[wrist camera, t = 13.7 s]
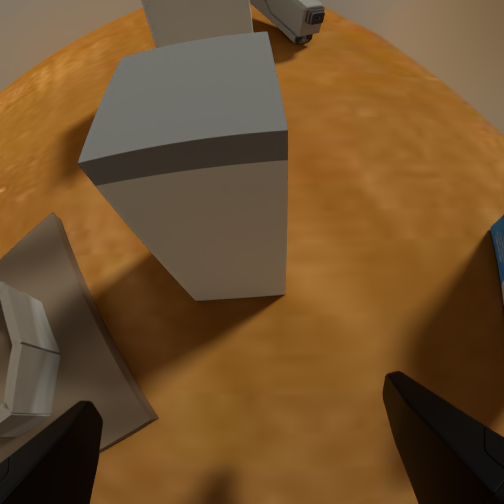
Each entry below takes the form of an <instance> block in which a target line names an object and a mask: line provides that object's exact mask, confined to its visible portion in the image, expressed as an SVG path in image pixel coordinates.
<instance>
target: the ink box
mask: <svg viewBox="0 0 504 504" xmlns="http://www.w3.org/2000/svg"><path fill="white" fill-rule="evenodd" d="M491 234H492V239H493V243H494V247H495V252H496V258H497V263H498V269H499V275H500V281H501V287H502V295H503V303H504V215H503V216H502V217H501V218H500V219H499V220H498V221H497V222H496V223H494V224H493V225H492V226H491Z"/></svg>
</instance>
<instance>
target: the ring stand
mask: <svg viewBox="0 0 504 504" xmlns="http://www.w3.org/2000/svg"><path fill="white" fill-rule="evenodd" d="M81 400H85V401H91V402H92V403H93V404H94V405H95V407H96V409H97V410H98V412H99V413H100V415H101V417H102V419H103V428H102V436H101V444H100V452H102V451H104V450H106V449H107V448H109V447H111V446H113V445H114V444H116V443H118V442H120V441H121V440H123V439H125V438H127V437H128V436H130V435H132V434H133V433H135V432H137V431H138V430H140V429H142V428H143V427H145V426H147V425H148V424H150V423H152V422H153V421H155V420H156V419H158V416H157V415H156V413H155V412H154V410H153V409H152V407H151V405H150V404H149V402H148V401H147V399H146V398H145V396H144V394H143V393H142V391H141V389H140V388H139V386H138V384H137V383H136V381H135V379H134V378H133V376H132V374H131V373H130V371H129V369H128V367H127V366H126V364H125V362H124V360H123V358H122V357H121V355H120V353H119V351H118V349H117V347H116V345H115V344H114V342H113V340H112V338H111V336H110V334H109V332H108V330H107V328H106V326H105V324H104V322H103V320H102V318H101V316H100V314H99V312H98V309H97V307H96V305H95V303H94V301H93V299H92V297H91V294H90V292H89V290H88V288H87V285H86V283H85V281H84V278H83V276H82V274H81V271H80V269H79V266H78V264H77V261H76V259H75V256H74V254H73V251H72V249H71V246H70V243H69V241H68V238H67V235H66V232H65V230H64V227H63V224H62V221H61V219H60V218H59V217H57V216H56V215H55V214H54V213H53V212H52V213H51V214H50V215H49V216H48V217H46V218H45V219H44V220H43V221H42V222H41V223H39V224H38V225H37V226H36V227H35V228H34V229H33V230H31V231H30V232H29V233H28V234H27V235H26V236H25V237H24V238H23V239H21V240H20V241H19V242H18V243H17V244H16V245H15V246H14V247H13V248H12V249H11V250H10V251H9V252H8V253H7V254H6V255H5V256H4V257H3V258H2V259H1V260H0V463H1V462H2V461H4V460H5V459H6V458H7V457H9V456H10V455H11V454H13V453H14V452H15V451H16V450H18V449H19V448H20V447H21V446H23V445H24V444H25V443H27V442H28V441H29V440H30V439H32V438H33V437H34V436H35V435H37V434H38V433H39V432H41V431H42V430H43V429H44V428H46V427H47V426H48V425H49V424H51V423H52V422H53V421H54V420H56V419H57V418H58V417H60V416H61V415H62V414H63V413H65V412H66V411H67V410H68V409H70V408H71V407H72V406H73V405H75V404H76V403H77V402H79V401H81ZM100 452H99V453H100Z"/></svg>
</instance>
